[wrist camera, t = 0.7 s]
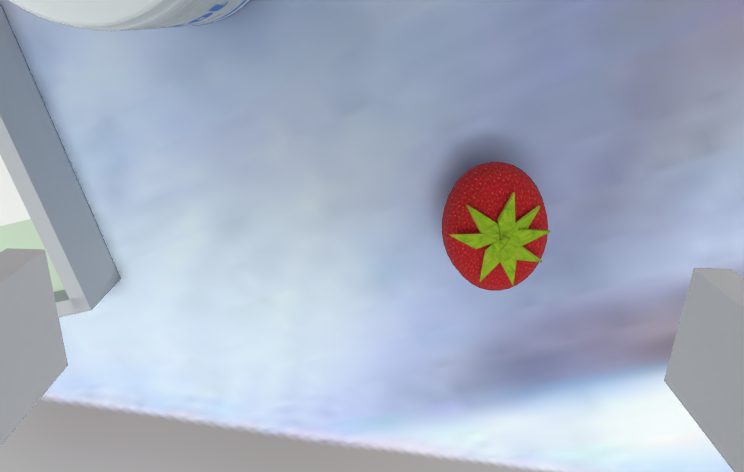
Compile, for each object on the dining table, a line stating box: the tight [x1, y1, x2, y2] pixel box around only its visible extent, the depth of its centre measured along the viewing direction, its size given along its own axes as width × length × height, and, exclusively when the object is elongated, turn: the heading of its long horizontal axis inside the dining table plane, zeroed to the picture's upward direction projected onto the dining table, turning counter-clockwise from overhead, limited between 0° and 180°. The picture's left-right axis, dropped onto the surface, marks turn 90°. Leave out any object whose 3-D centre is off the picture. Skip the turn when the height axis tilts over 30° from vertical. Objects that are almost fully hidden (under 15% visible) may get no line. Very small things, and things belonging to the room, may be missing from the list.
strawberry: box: [442, 162, 550, 290], centre depth 33 cm, size 6×8×10 cm
